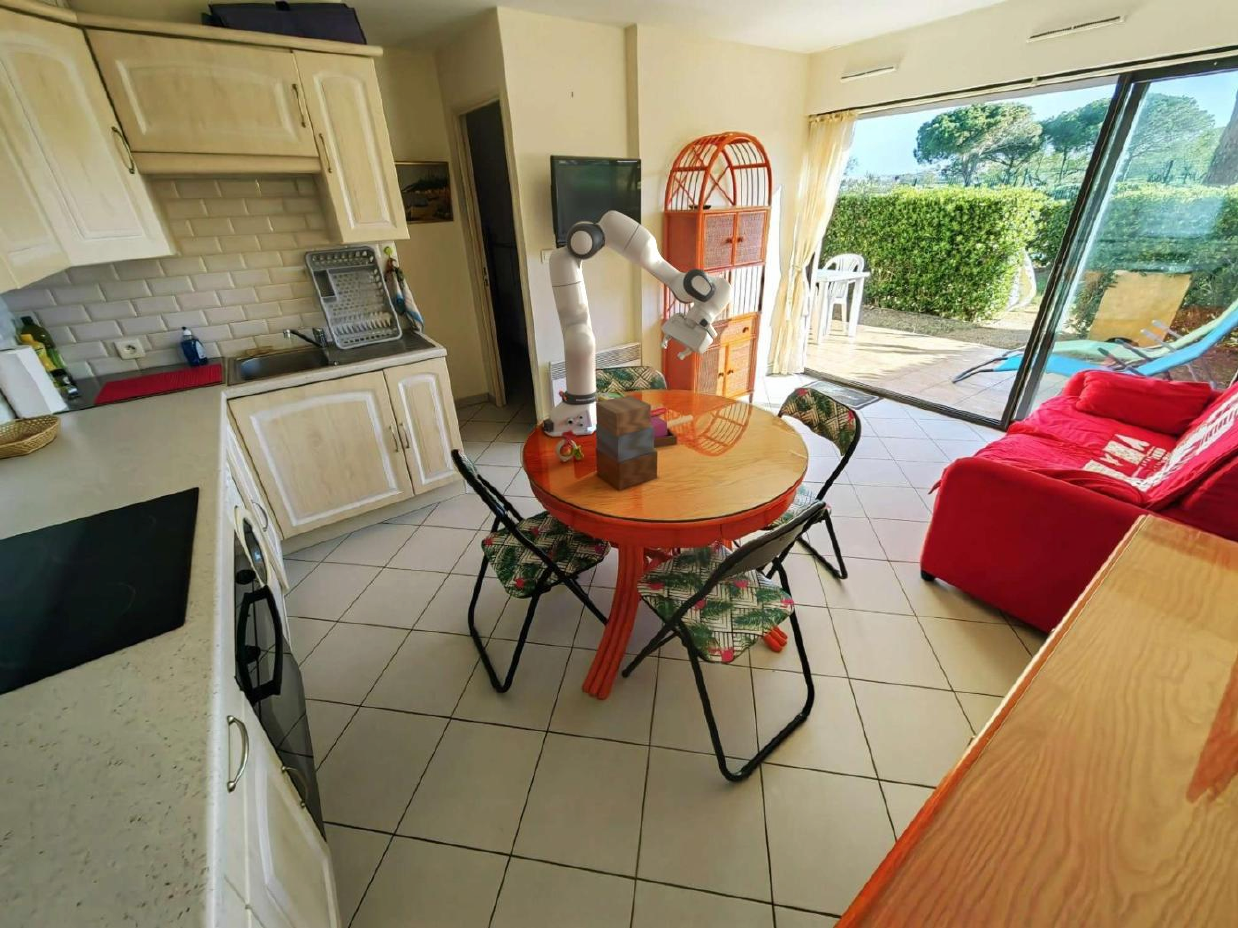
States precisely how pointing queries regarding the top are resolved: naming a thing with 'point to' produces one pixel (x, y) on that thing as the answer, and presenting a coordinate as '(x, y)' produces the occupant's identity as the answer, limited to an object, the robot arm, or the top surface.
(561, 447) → the bird rattle
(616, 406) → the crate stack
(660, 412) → the candy bar
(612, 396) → the puzzle game
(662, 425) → the mulberry block
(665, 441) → the walnut tray
